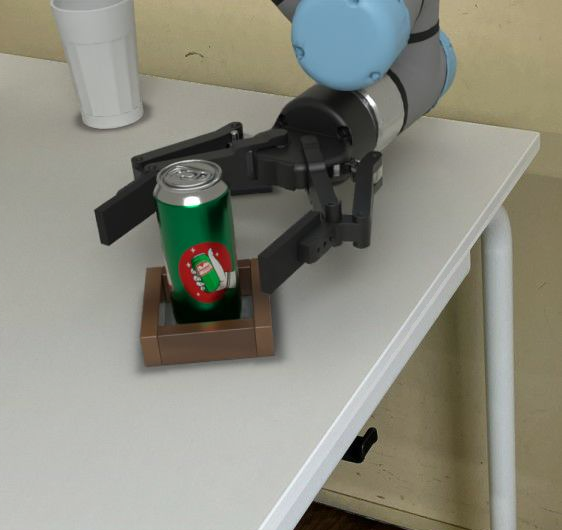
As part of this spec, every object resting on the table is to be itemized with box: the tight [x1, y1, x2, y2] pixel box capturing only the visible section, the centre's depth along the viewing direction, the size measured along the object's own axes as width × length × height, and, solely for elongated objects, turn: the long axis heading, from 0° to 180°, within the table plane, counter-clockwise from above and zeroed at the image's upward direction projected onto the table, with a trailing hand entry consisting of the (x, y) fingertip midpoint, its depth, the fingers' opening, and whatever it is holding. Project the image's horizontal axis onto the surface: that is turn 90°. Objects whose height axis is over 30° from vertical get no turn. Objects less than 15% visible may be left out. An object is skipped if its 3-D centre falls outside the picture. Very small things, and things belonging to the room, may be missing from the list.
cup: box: [49, 0, 145, 130], centre depth 100 cm, size 8×8×12 cm
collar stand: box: [139, 257, 276, 367], centre depth 72 cm, size 9×9×2 cm
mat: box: [229, 152, 273, 195], centre depth 92 cm, size 9×9×1 cm
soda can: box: [153, 160, 245, 325], centre depth 69 cm, size 5×5×12 cm
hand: (178, 250), depth 67 cm, fingers open, 13 cm apart
